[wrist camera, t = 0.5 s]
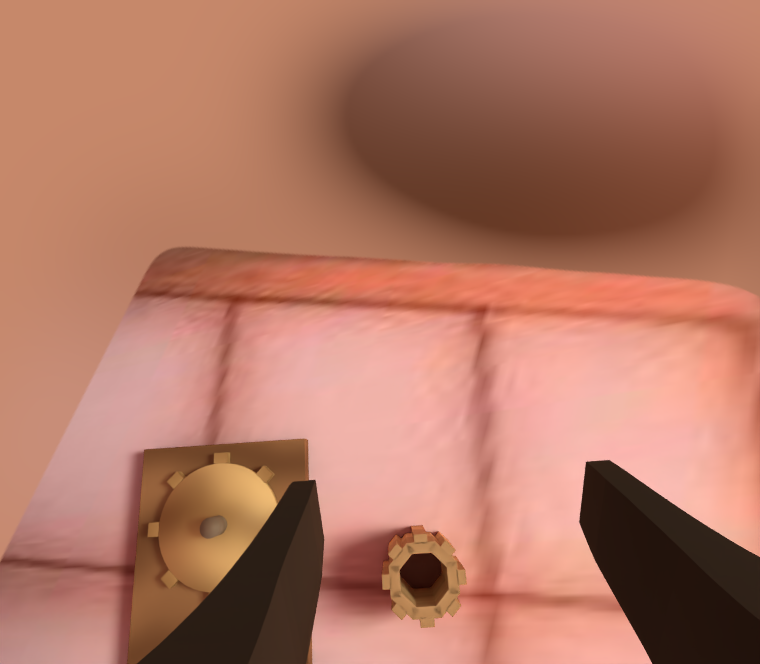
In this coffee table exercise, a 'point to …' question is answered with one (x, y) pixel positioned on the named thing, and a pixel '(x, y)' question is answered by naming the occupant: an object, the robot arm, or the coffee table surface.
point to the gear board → (201, 525)
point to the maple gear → (423, 600)
